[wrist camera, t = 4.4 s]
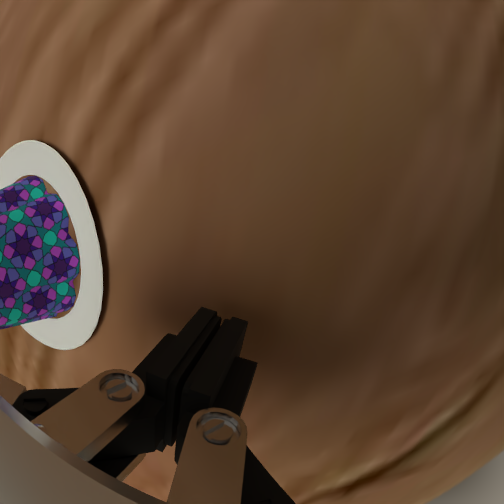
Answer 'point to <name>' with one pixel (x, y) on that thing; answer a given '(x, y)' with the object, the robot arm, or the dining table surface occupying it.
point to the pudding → (46, 249)
